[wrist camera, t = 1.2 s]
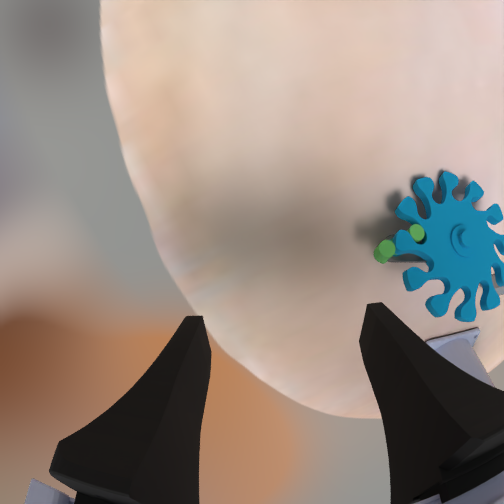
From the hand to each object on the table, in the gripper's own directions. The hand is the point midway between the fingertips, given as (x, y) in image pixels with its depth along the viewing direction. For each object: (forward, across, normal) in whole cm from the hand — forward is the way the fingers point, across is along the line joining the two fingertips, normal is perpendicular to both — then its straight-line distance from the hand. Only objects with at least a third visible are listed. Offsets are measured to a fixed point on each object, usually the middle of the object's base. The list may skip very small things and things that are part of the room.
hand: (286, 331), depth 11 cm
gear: (+10, -12, 0) cm, 15 cm away
